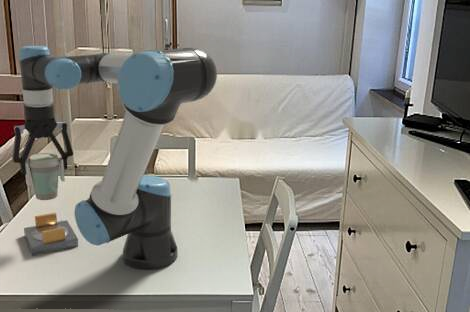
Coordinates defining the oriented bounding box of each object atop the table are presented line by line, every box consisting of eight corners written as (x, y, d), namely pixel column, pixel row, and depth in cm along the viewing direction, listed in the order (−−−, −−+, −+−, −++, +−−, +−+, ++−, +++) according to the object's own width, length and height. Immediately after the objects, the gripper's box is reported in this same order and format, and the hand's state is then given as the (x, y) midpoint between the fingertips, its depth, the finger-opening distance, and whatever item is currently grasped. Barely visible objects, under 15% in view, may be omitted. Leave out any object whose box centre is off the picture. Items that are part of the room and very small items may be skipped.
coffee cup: (52, 203, 144) (49, 162, 140) (24, 200, 145) (20, 159, 142) (68, 192, 152) (65, 153, 148) (41, 189, 153) (38, 151, 150)
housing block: (78, 246, 150) (77, 227, 148) (32, 255, 144) (30, 236, 142) (67, 227, 162) (66, 209, 160) (24, 235, 156) (22, 217, 154)
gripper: (75, 98, 149) (80, 173, 156) (-6, 104, 139) (3, 183, 145) (81, 103, 143) (86, 180, 149) (-3, 110, 132) (6, 192, 139)
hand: (45, 182), depth 147 cm, fingers closed on coffee cup, 8 cm apart
